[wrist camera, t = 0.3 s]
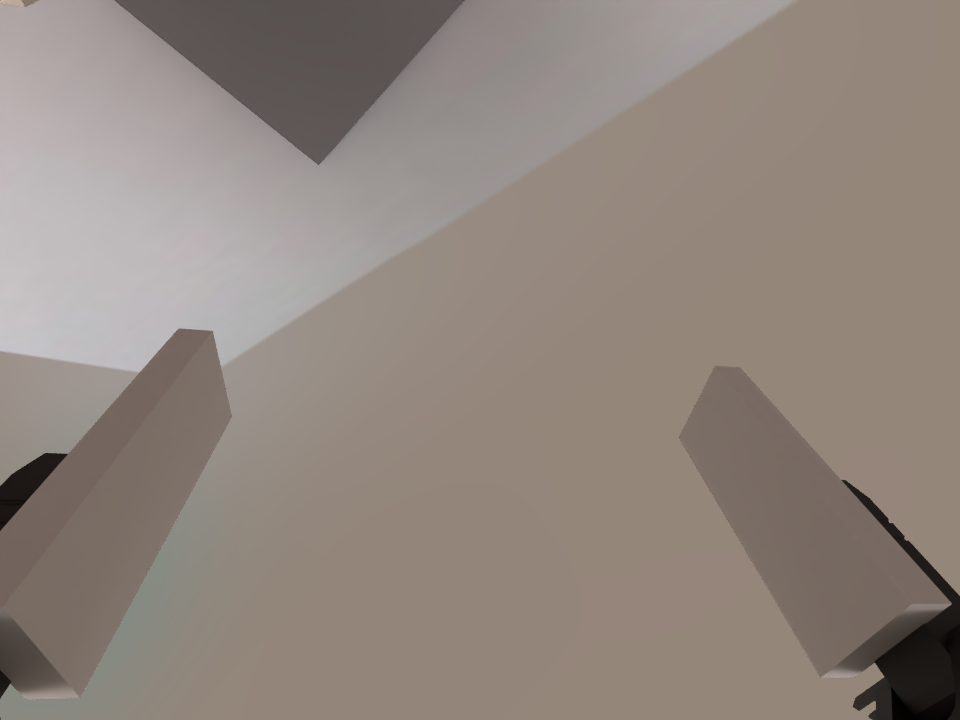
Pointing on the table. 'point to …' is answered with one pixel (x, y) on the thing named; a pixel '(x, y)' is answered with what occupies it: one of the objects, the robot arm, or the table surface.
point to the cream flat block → (18, 2)
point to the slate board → (298, 55)
